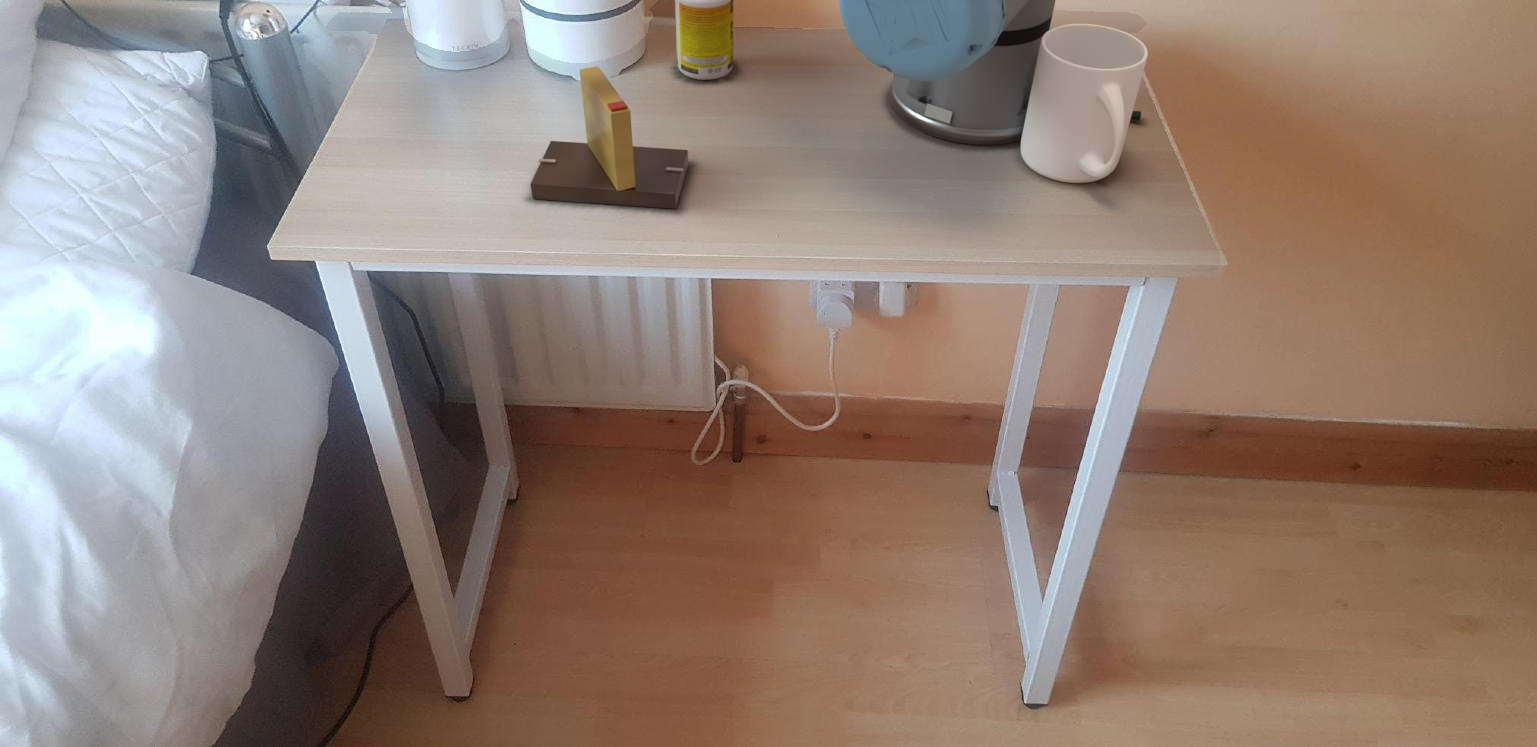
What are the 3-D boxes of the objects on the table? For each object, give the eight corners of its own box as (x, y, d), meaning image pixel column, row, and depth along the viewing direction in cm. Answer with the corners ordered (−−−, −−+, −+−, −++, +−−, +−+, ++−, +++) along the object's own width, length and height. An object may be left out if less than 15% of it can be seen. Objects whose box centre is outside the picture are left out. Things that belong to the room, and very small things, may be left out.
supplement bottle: (741, 77, 106) (741, -26, 99) (686, 86, 105) (683, -18, 98) (723, 53, 110) (722, -48, 103) (670, 61, 109) (666, -41, 102)
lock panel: (689, 164, 94) (689, 148, 93) (677, 209, 89) (676, 192, 88) (551, 155, 95) (549, 138, 94) (531, 199, 89) (528, 181, 88)
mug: (1052, 212, 90) (1080, 93, 82) (1005, 138, 98) (1026, 26, 91) (1149, 204, 91) (1185, 86, 84) (1094, 132, 100) (1122, 20, 92)
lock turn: (587, 145, 93) (579, 66, 88) (605, 141, 94) (597, 63, 89) (617, 191, 88) (610, 111, 83) (635, 187, 88) (630, 107, 83)
